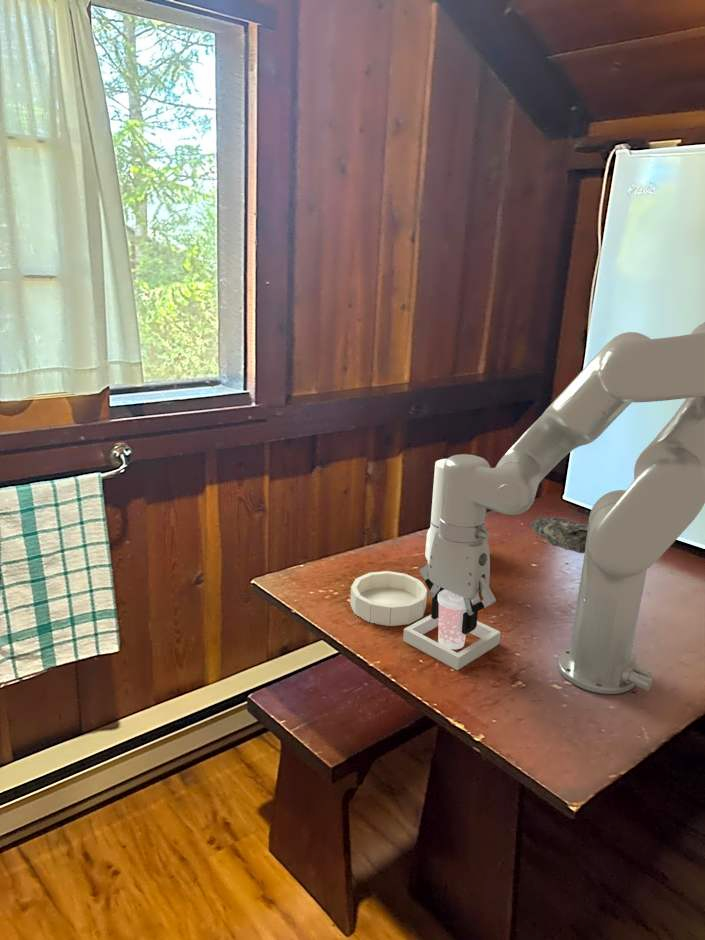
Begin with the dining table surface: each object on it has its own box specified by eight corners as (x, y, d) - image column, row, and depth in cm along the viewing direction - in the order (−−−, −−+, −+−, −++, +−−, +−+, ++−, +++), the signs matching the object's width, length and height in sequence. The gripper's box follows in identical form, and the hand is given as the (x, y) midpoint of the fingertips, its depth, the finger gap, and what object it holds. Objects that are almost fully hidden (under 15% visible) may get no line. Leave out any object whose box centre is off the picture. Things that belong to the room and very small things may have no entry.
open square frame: (499, 643, 133) (500, 632, 132) (457, 670, 124) (458, 657, 124) (445, 617, 140) (446, 606, 140) (403, 640, 132) (403, 628, 132)
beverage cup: (468, 654, 129) (475, 580, 125) (432, 649, 130) (438, 576, 125) (469, 635, 135) (476, 564, 130) (435, 631, 136) (440, 561, 131)
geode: (601, 560, 168) (613, 536, 180) (603, 544, 166) (616, 521, 179) (518, 541, 176) (535, 520, 189) (519, 526, 175) (537, 505, 187)
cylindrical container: (421, 581, 154) (429, 466, 146) (434, 568, 160) (443, 456, 152) (454, 590, 151) (464, 472, 142) (466, 576, 157) (477, 462, 148)
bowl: (439, 607, 144) (441, 590, 143) (390, 633, 134) (391, 615, 133) (386, 581, 153) (387, 565, 152) (336, 604, 144) (336, 586, 142)
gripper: (518, 539, 122) (506, 635, 128) (435, 508, 134) (428, 598, 139) (491, 552, 117) (480, 652, 123) (407, 519, 128) (401, 612, 134)
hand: (453, 622), depth 131 cm, fingers closed on beverage cup, 6 cm apart
